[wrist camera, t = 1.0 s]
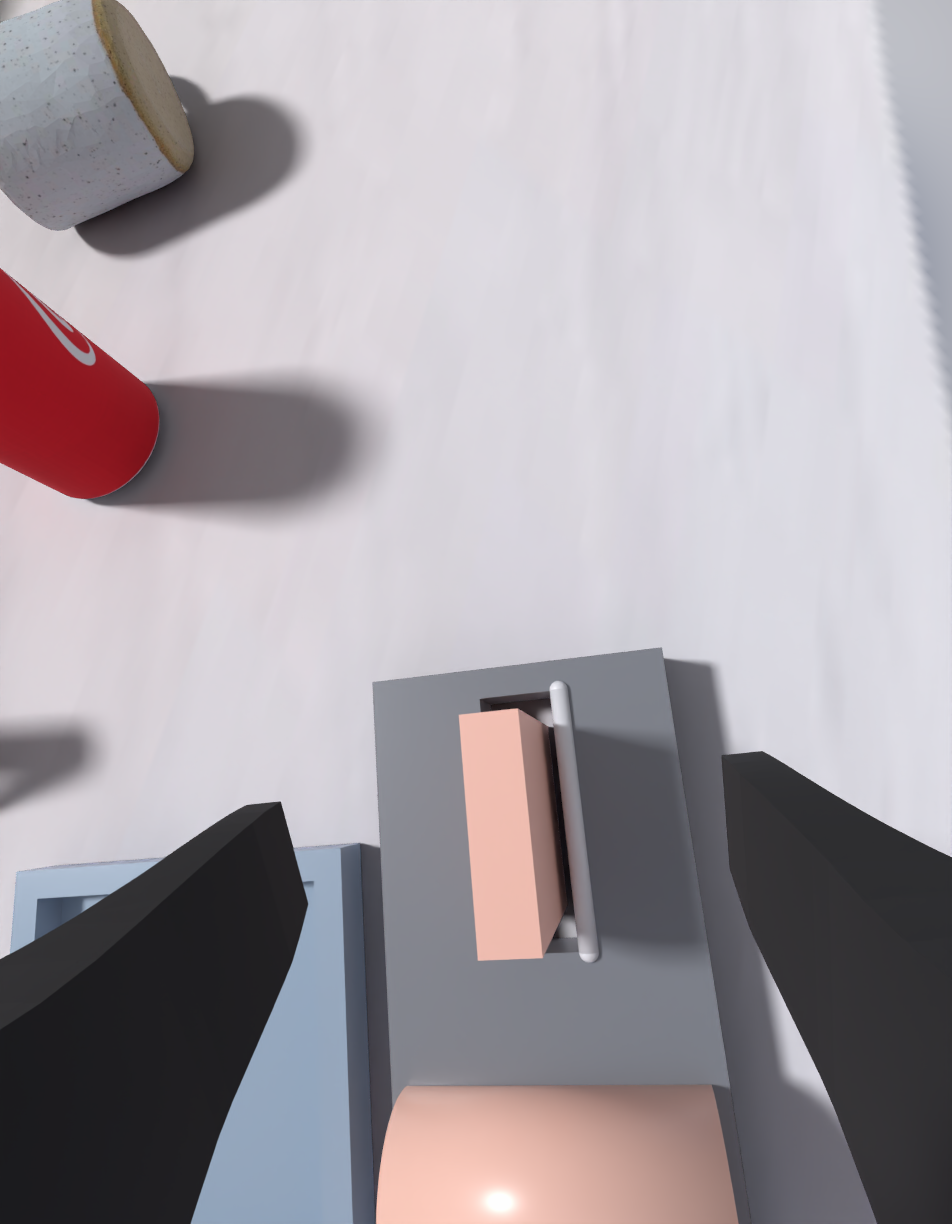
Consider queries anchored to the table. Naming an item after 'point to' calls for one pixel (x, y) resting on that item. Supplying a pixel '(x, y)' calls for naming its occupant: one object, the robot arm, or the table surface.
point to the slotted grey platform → (552, 973)
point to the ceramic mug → (85, 113)
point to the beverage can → (67, 403)
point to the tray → (273, 1051)
